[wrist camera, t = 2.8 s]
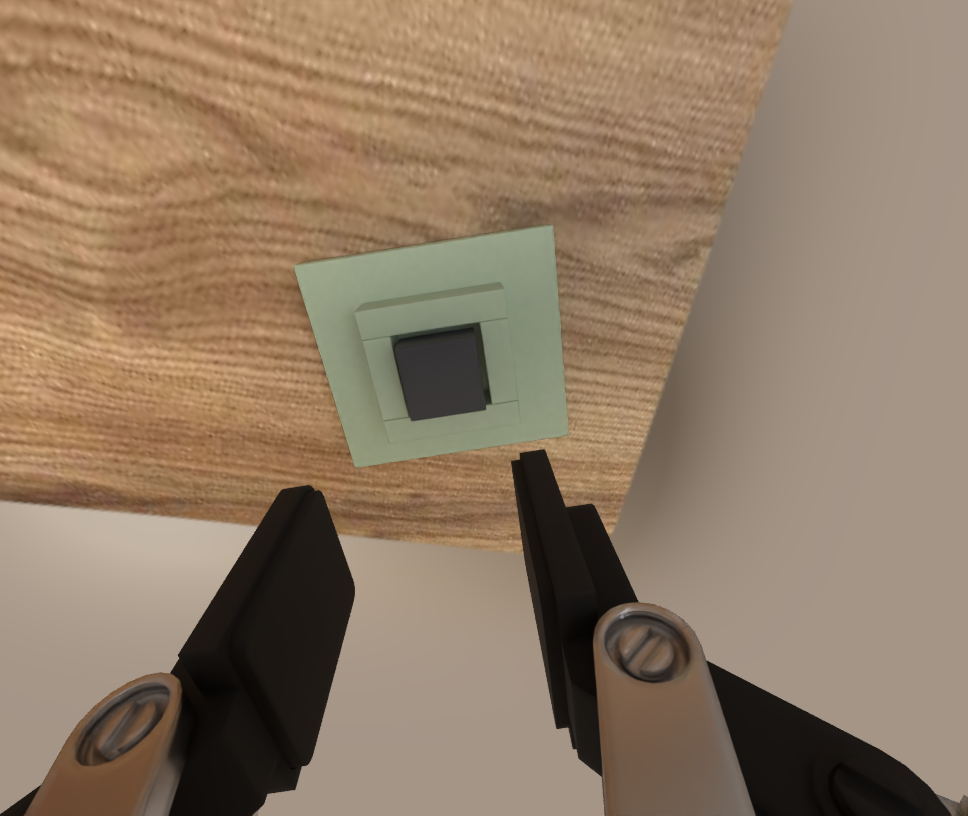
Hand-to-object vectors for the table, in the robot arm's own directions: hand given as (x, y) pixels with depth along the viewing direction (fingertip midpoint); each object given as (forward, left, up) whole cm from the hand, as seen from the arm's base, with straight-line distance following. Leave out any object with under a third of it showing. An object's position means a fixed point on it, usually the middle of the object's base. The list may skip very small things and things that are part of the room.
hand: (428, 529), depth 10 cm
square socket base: (0, 0, -13) cm, 13 cm away
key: (0, 0, -11) cm, 11 cm away
